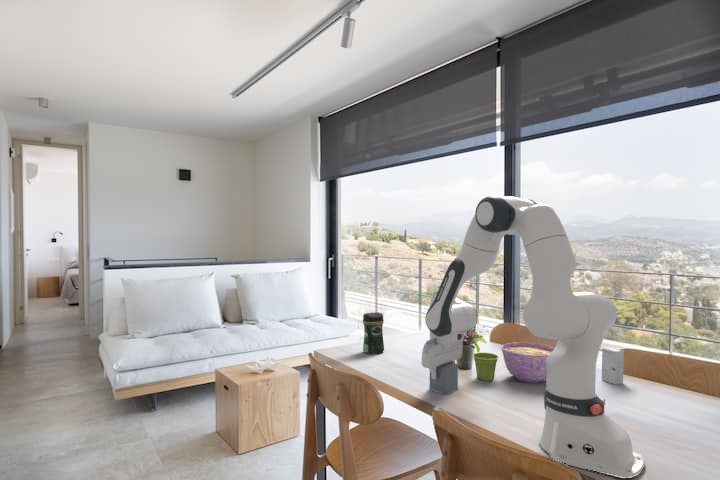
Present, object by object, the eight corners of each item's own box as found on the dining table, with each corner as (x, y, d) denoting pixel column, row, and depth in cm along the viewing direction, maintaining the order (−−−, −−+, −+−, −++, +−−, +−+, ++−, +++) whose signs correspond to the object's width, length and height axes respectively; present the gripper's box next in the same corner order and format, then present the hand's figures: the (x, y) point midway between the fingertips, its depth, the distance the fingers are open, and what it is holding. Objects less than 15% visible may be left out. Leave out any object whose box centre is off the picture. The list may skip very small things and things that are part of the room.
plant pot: (500, 383, 157) (499, 359, 157) (473, 381, 159) (473, 358, 159) (497, 375, 166) (497, 353, 166) (472, 374, 168) (472, 352, 168)
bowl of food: (568, 388, 152) (568, 355, 152) (512, 388, 152) (512, 355, 152) (544, 371, 172) (544, 342, 172) (494, 371, 172) (494, 342, 172)
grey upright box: (457, 389, 151) (457, 364, 151) (446, 394, 146) (446, 368, 146) (441, 384, 156) (441, 360, 156) (429, 389, 151) (429, 364, 151)
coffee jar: (379, 349, 208) (378, 310, 208) (386, 353, 200) (386, 313, 200) (360, 351, 204) (360, 312, 204) (367, 355, 196) (367, 314, 197)
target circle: (460, 388, 152) (460, 388, 152) (445, 395, 145) (445, 394, 145) (439, 382, 158) (439, 382, 158) (424, 388, 152) (424, 388, 152)
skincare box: (600, 379, 161) (600, 347, 161) (610, 378, 162) (610, 346, 162) (615, 385, 155) (614, 351, 155) (624, 383, 156) (624, 350, 157)
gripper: (432, 342, 142) (432, 384, 142) (465, 333, 156) (465, 371, 156) (417, 339, 147) (417, 380, 147) (450, 331, 161) (451, 367, 161)
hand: (442, 375), depth 152 cm, fingers open, 8 cm apart
